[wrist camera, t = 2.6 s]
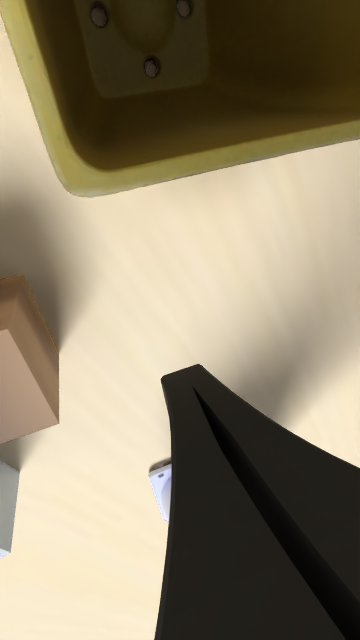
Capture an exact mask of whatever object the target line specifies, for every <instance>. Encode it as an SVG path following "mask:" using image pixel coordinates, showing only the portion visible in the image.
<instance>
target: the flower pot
mask: <svg viewBox="0 0 360 640" xmlns="http://www.w3.org/2000/svg"><path fill="white" fill-rule="evenodd" d="M177 1H178V0H0V13H1V16H2V19H3V22H4V25H5V28H6V31H7V34H8V37H9V40H10V43H11V46H12V49H13V52H14V55H15V58H16V61H17V64H18V67H19V70H20V73H21V75H22V78H23V81H24V84H25V86H26V89H27V92H28V95H29V98H30V102H31V105H32V108H33V111H34V114H35V117H36V120H37V123H38V126H39V129H40V132H41V135H42V138H43V141H44V144H45V146H46V149H47V152H48V154H49V157H50V160H51V162H52V165H53V167H54V170H55V172H56V175H57V177H58V179H59V180H60V182H61V183H62V185H63V186H64V188H65V189H66V190H67V191H68V192H70V193H71V194H73V195H76V196H81V197H97V196H104V195H109V194H115V193H118V192H122V191H128V190H132V189H135V188H138V187H145V186H149V185H153V184H157V183H162V182H166V181H170V180H175V179H179V178H183V177H188V176H193V175H197V174H201V173H205V172H209V171H214V170H218V169H222V168H227V167H231V166H235V165H240V164H245V163H250V162H255V161H259V160H264V159H269V158H274V157H278V156H282V155H285V154H290V153H295V152H299V151H304V150H308V149H313V148H318V147H323V146H328V145H333V144H337V143H341V142H346V141H352V140H358V139H360V0H188V1H189V3H190V13H189V14H188V16H187V17H182V16H181V15H180V14H179V13H178V11H177ZM94 5H100V6H102V7H103V8H104V9H105V11H106V13H107V23H106V24H105V25H104V26H103V27H99V26H97V25H95V23H94V22H93V20H92V17H91V10H92V8H93V7H94ZM150 58H151V59H154V60H155V62H156V63H157V65H158V72H157V74H156V75H155V76H154V77H150V76H148V75H147V74H146V72H145V67H144V66H145V62H146V60H148V59H150Z"/></svg>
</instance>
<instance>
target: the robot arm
mask: <svg viewBox="0 0 360 640" xmlns="http://www.w3.org/2000/svg"><path fill="white" fill-rule="evenodd" d="M161 384H162V388H163V392H164V397H165V401H166V405H167V410H168V414H169V419H170V430H171V464H168V465H166V466H163V467H161V468H158V469H156V470H154V471H152V472H150V473H149V480H150V483H151V486H152V489H153V492H154V494H155V497H156V500H157V503H158V506H159V509H160V512H161V515H162V518H163V520H164V521H167V522H168V525H169V527H168V538H167V549H166V557H165V566H164V574H163V582H162V590H161V598H160V606H159V613H158V620H157V626H156V632H155V638H154V640H360V468H358V467H356V466H354V465H352V464H350V463H348V462H346V461H344V460H342V459H340V458H338V457H335V456H333V455H331V454H330V453H328V452H326V451H324V450H322V449H320V448H318V447H316V446H315V445H313V444H311V443H309V442H307V441H306V440H304V439H302V438H300V437H299V436H297V435H295V434H293V433H292V432H290V431H289V430H287V429H285V428H284V427H282V426H281V425H279V424H277V423H276V422H274V421H273V420H271V419H270V418H268V417H267V416H265V415H264V414H262V413H261V412H259V411H258V410H257V409H255V408H254V407H252V406H251V405H250V404H248V403H247V402H246V401H244V400H243V399H242V398H240V397H239V396H237V395H236V394H235V393H234V392H232V391H231V390H230V389H228V388H227V387H226V386H225V385H224V384H222V383H221V382H220V381H219V380H218V379H216V378H215V377H214V376H213V375H212V374H211V373H209V372H208V371H207V370H206V369H205V368H204V367H203V366H202V365H200V364H196V365H193V366H191V367H188V368H185V369H182V370H179V371H176V372H173V373H170V374H167V375H164V376H163V377H162V378H161Z"/></svg>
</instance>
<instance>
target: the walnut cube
mask: <svg viewBox="0 0 360 640" xmlns="http://www.w3.org/2000/svg"><path fill="white" fill-rule="evenodd" d="M56 424H59V354H58V351H57V349H56V347H55V345H54V343H53V340H52V338H51V336H50V334H49V332H48V330H47V327H46V325H45V323H44V321H43V319H42V316H41V314H40V312H39V310H38V308H37V305H36V303H35V301H34V299H33V297H32V294H31V292H30V290H29V288H28V286H27V283H26V281H25V279H24V277H23V275H22V274H21V275H16V276H12V277H8V278H4V279H0V444H2V443H5V442H8V441H10V440H13V439H16V438H19V437H22V436H25V435H28V434H31V433H33V432H36V431H39V430H42V429H45V428H48V427H51V426H54V425H56Z"/></svg>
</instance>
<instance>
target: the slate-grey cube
mask: <svg viewBox="0 0 360 640" xmlns="http://www.w3.org/2000/svg"><path fill="white" fill-rule="evenodd" d="M19 474H20V472H19V471H17V470H16V469H14V468H12V467H11V466H9V465H8V464H6V463H5V462H3V461H1V460H0V559H1V558H2V557H4V556H6V555H7V554H9V553H11V544H12V535H13V527H14V518H15V509H16V500H17V492H18V483H19Z"/></svg>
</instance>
